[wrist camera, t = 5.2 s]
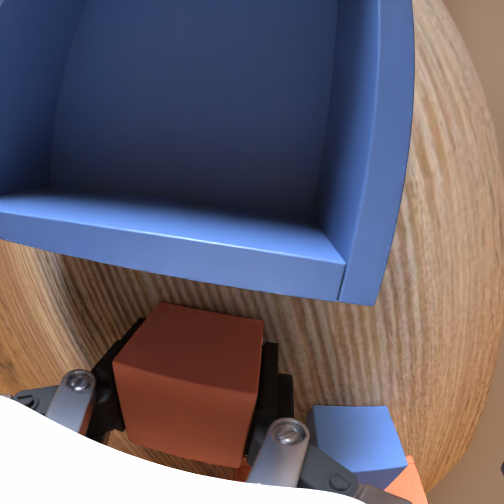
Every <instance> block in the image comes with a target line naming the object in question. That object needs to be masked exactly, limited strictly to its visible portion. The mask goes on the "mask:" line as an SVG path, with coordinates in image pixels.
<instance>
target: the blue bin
mask: <svg viewBox="0 0 504 504" xmlns="http://www.w3.org/2000/svg"><path fill="white" fill-rule="evenodd" d="M414 78H415V44H414V22H413V9H412V0H0V239H2V240H6V241H10V242H14V243H18V244H22V245H26V246H30V247H34V248H38V249H42V250H47V251H51V252H55V253H60V254H64V255H68V256H73V257H77V258H82V259H86V260H91V261H96V262H100V263H105V264H110V265H115V266H120V267H125V268H130V269H135V270H140V271H145V272H150V273H155V274H161V275H166V276H172V277H177V278H183V279H188V280H194V281H199V282H205V283H211V284H217V285H223V286H229V287H235V288H242V289H248V290H254V291H261V292H267V293H274V294H281V295H288V296H295V297H302V298H309V299H317V300H324V301H332V302H336V301H338V302H341V303H349V304H358V305H366V306H374V305H375V303H376V299H377V296H378V293H379V290H380V286H381V283H382V279H383V276H384V272H385V269H386V265H387V261H388V257H389V253H390V249H391V245H392V241H393V237H394V233H395V228H396V224H397V219H398V214H399V209H400V204H401V199H402V193H403V187H404V182H405V175H406V169H407V162H408V154H409V146H410V137H411V128H412V116H413V102H414Z"/></svg>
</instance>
